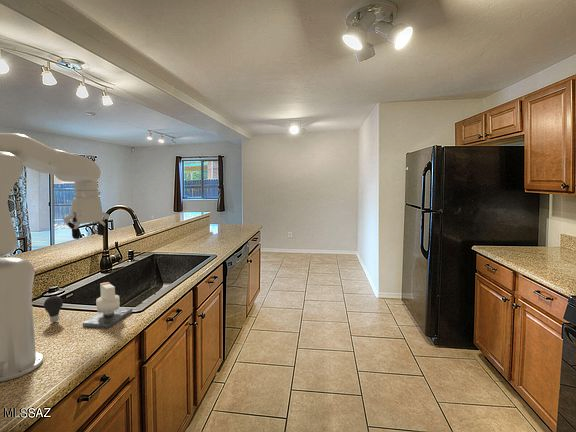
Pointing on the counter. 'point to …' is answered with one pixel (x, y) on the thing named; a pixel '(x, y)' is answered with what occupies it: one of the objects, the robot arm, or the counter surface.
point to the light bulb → (53, 307)
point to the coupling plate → (107, 318)
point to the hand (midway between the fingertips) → (88, 236)
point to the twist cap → (107, 298)
